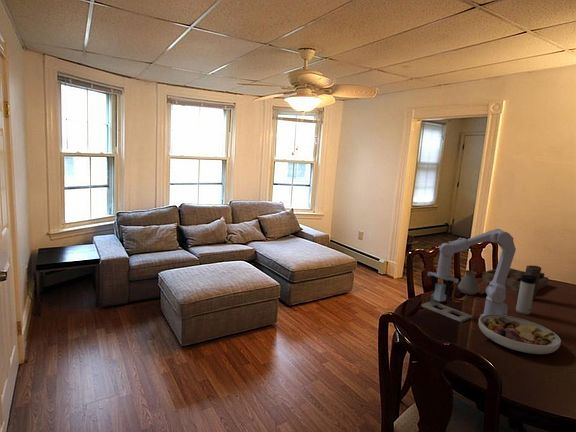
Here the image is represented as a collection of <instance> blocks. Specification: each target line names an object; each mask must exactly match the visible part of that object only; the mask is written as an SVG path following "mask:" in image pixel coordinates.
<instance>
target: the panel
mask: <svg viewBox="0 0 576 432" xmlns="http://www.w3.org/2000/svg"><path fill="white" fill-rule="evenodd" d="M421 307H422V308H425V309H427V310H430V311H432V312H434V313H438V314H439V315H442V316H444V317H447V318H450V319H452V320H455V321H457V322H460V323H462V322H464V321H467V320H469V319H472V314H468V313H467V312H463V311H460V310H458V309H455V308H452V307H450V306H447V305H445V304H442V303H440V302H439V303H437V302H434V301H430V300H429V301H426V302H424V303H421ZM437 307H438V308H437ZM439 308H440V309H439ZM452 313H453V314H452ZM455 314H456V315H455ZM457 315H459V316H457Z"/></svg>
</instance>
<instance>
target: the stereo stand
mask: <svg viewBox="0 0 576 432" xmlns="http://www.w3.org/2000/svg"><path fill="white" fill-rule="evenodd" d="M496 269H497V268H494V269H493V268H492V269H490V270H486V271H483V272H482V276H481V277H482V278H481V282H484V283H488V284H490V282H491V281H492V280H493V278H494V275H495V272H496ZM523 275H525V271H523V270H520V269H516V268H511V267H510V270H509V273H508V276H507V279H506V282H505V288H506V290H511V291H514V292H518V293H519V289H520V283H521V282H520V281H516V280H517V278H522V276H523ZM508 277H511V278H508ZM512 278H515V279H512ZM548 281H549V277H548V276H547V277H546V276H544V278H542V279H539V283H538V288H537V291H539V290H541V289H543V288H546V287H547V286H548Z"/></svg>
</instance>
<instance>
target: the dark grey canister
mask: <svg viewBox="0 0 576 432" xmlns="http://www.w3.org/2000/svg"><path fill="white" fill-rule="evenodd" d="M524 272H525V275H530V276H536V277H537V278H536V282H535V288H534V294H533V299H532V301H534V300H536V297H537V293H538V290H537V288H538V283H539V278H540V273H542V267H541V266H538V265H533V264H532V265H531V264H530V265H526V267H525V271H524Z"/></svg>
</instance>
